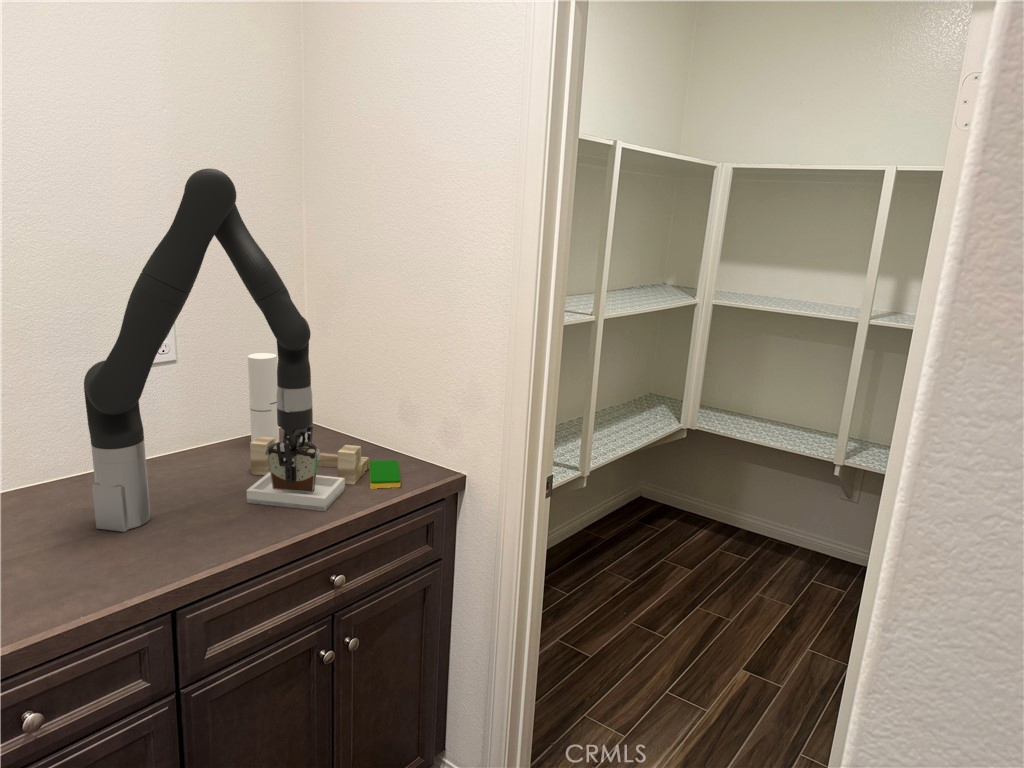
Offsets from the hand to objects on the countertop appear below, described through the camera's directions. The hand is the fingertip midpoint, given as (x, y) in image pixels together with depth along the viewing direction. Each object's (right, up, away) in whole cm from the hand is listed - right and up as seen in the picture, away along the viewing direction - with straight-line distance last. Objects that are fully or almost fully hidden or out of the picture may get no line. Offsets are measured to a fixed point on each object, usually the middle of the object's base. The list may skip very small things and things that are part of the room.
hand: (296, 476), depth 157 cm
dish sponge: (+17, -3, +15) cm, 23 cm away
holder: (-1, -1, +16) cm, 16 cm away
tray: (0, -5, +1) cm, 5 cm away
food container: (0, -2, +1) cm, 3 cm away
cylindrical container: (-18, +4, +32) cm, 37 cm away
